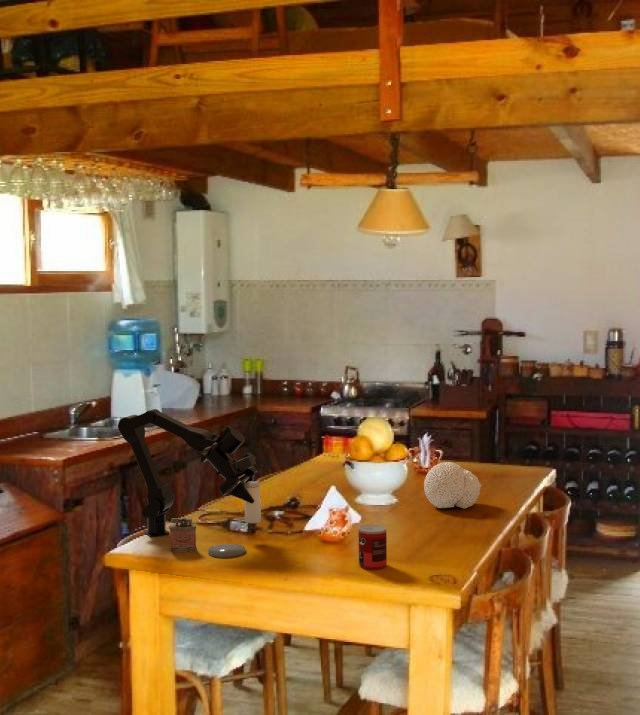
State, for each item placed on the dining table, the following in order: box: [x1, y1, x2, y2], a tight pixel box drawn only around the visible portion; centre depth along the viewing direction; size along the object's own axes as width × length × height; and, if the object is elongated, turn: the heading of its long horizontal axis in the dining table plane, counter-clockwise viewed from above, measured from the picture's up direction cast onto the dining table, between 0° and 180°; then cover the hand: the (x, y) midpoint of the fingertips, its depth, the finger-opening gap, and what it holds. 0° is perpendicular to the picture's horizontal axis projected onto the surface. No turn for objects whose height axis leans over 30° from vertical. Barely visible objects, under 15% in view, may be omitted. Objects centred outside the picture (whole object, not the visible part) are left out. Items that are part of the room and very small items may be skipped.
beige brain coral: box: [423, 461, 482, 509], centre depth 340 cm, size 20×18×16 cm
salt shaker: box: [243, 480, 262, 524], centre depth 302 cm, size 5×5×12 cm
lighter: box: [168, 516, 198, 553], centre depth 294 cm, size 8×3×10 cm, turn 92°
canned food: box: [357, 524, 388, 571], centre depth 276 cm, size 8×8×11 cm
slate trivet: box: [207, 543, 246, 559], centre depth 292 cm, size 11×11×1 cm
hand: (256, 500), depth 301 cm, fingers closed on salt shaker, 5 cm apart
